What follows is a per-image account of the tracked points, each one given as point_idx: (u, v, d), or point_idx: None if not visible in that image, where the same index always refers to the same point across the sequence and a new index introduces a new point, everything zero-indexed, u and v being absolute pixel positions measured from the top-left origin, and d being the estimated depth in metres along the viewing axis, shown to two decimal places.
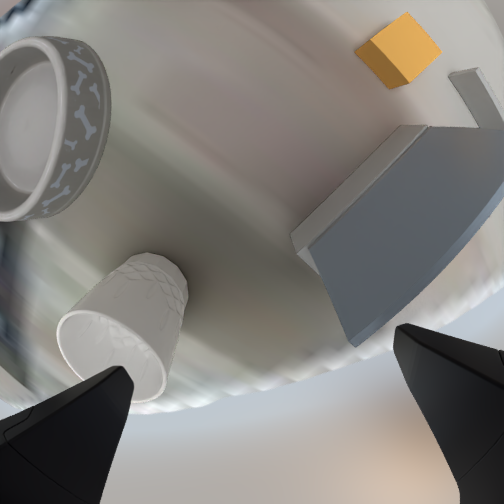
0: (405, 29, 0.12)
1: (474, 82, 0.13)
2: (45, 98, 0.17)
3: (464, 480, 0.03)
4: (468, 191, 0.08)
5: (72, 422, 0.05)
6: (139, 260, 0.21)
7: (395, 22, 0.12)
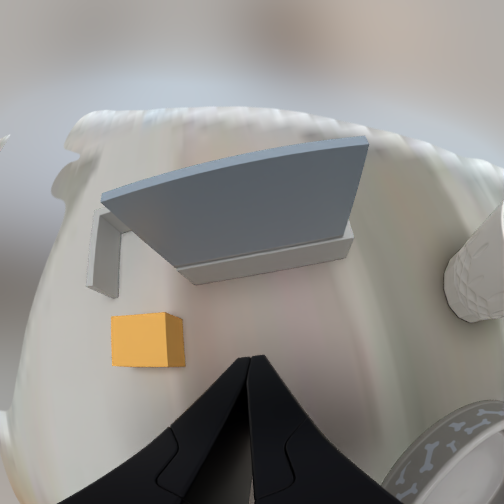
0: (128, 353, 0.19)
1: (99, 277, 0.22)
2: (433, 503, 0.12)
3: None
4: (199, 194, 0.12)
5: (232, 435, 0.05)
6: (469, 313, 0.17)
7: (131, 364, 0.18)
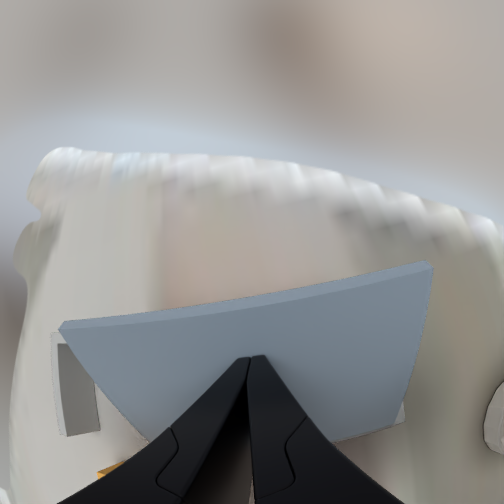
0: None
1: (73, 422, 0.14)
2: None
3: None
4: (183, 355, 0.08)
5: (232, 435, 0.05)
6: None
7: None
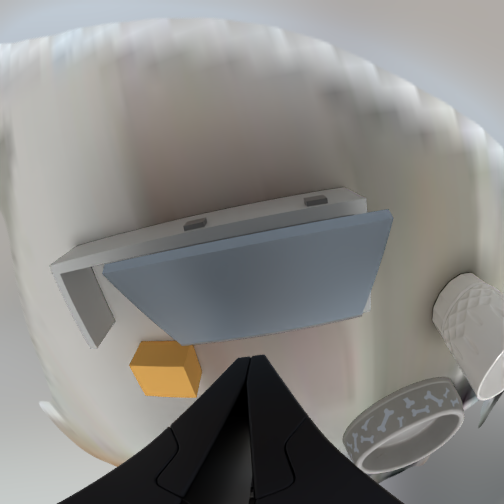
0: (157, 389, 0.22)
1: (96, 331, 0.20)
2: None
3: None
4: (208, 274, 0.11)
5: (232, 435, 0.05)
6: (444, 339, 0.21)
7: (163, 395, 0.22)
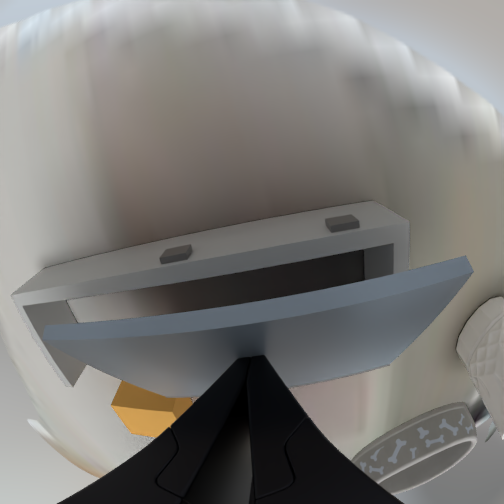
0: (144, 430, 0.17)
1: (71, 368, 0.15)
2: None
3: None
4: (188, 352, 0.07)
5: (232, 435, 0.05)
6: (467, 370, 0.17)
7: (151, 435, 0.17)
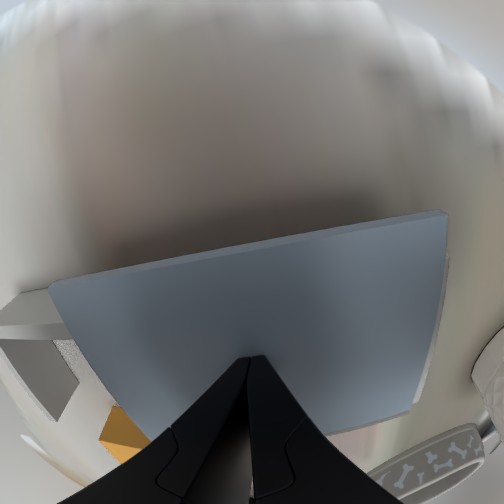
0: None
1: (54, 402, 0.12)
2: None
3: None
4: (180, 312, 0.07)
5: (232, 435, 0.05)
6: None
7: None
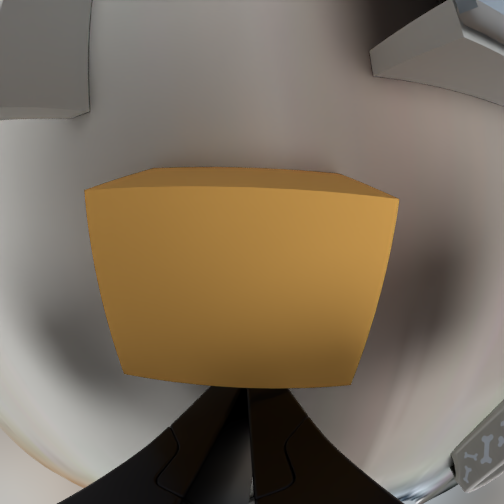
0: (189, 351, 0.05)
1: (19, 66, 0.03)
2: None
3: None
4: None
5: (232, 435, 0.05)
6: None
7: (205, 380, 0.05)
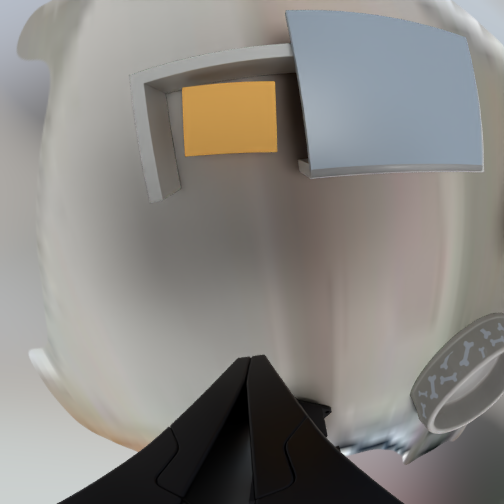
0: (213, 136, 0.14)
1: (164, 180, 0.15)
2: None
3: None
4: (372, 34, 0.10)
5: (232, 435, 0.05)
6: None
7: (219, 151, 0.14)
